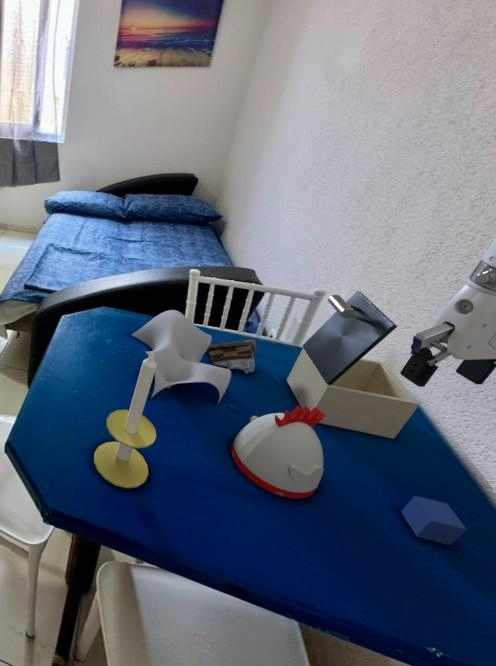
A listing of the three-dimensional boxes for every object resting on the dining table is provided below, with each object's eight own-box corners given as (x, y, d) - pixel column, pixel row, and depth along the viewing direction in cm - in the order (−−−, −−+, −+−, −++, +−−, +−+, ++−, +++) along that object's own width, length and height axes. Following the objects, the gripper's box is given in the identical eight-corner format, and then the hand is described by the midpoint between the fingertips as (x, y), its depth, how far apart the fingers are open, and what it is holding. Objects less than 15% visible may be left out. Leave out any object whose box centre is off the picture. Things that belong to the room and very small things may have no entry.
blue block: (432, 519, 69) (447, 503, 67) (450, 545, 65) (467, 529, 63) (400, 511, 70) (414, 495, 68) (416, 537, 66) (431, 520, 64)
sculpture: (233, 407, 91) (248, 374, 86) (146, 397, 93) (156, 364, 88) (197, 341, 112) (207, 311, 108) (127, 334, 114) (134, 305, 110)
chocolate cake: (203, 368, 103) (254, 354, 95) (200, 346, 108) (248, 330, 100) (223, 387, 106) (274, 374, 99) (219, 364, 111) (267, 351, 103)
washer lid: (361, 292, 86) (330, 279, 86) (398, 326, 74) (362, 311, 75) (305, 347, 94) (277, 335, 95) (330, 385, 83) (299, 372, 84)
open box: (361, 394, 96) (382, 361, 91) (394, 438, 84) (419, 404, 80) (286, 379, 99) (302, 347, 95) (308, 420, 88) (327, 386, 83)
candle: (151, 454, 79) (189, 343, 66) (144, 497, 71) (186, 380, 58) (99, 435, 83) (126, 326, 70) (88, 474, 75) (115, 358, 62)
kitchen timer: (334, 499, 72) (376, 440, 65) (258, 498, 71) (292, 439, 64) (283, 435, 84) (313, 380, 77) (217, 435, 84) (242, 379, 76)
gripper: (489, 296, 50) (414, 399, 58) (608, 294, 52) (518, 394, 60) (426, 269, 57) (366, 365, 65) (533, 268, 58) (461, 361, 66)
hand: (439, 379), depth 62 cm, fingers open, 9 cm apart
